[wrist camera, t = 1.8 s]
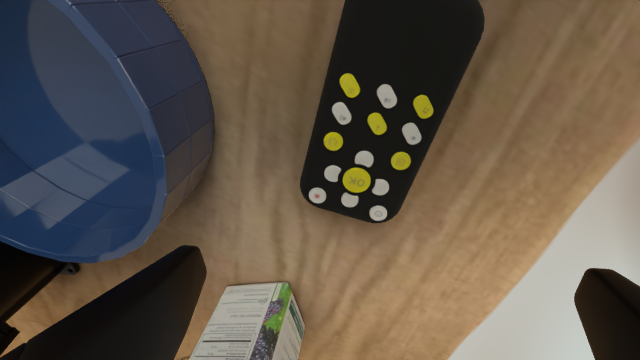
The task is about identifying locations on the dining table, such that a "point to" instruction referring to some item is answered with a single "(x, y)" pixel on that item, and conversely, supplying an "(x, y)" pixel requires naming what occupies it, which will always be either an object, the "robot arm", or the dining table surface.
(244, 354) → the syrup box
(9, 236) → the pot
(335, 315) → the dining table surface
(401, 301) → the dining table surface
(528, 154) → the dining table surface
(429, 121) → the remote control
